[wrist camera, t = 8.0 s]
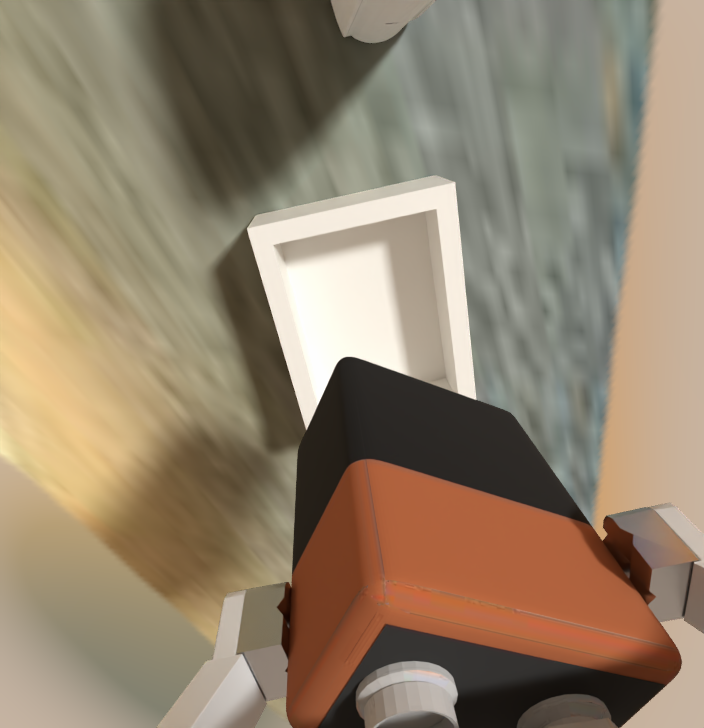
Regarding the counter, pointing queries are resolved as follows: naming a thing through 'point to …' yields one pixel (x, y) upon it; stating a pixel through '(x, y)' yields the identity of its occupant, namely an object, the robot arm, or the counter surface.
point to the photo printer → (376, 17)
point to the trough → (369, 285)
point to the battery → (452, 574)
